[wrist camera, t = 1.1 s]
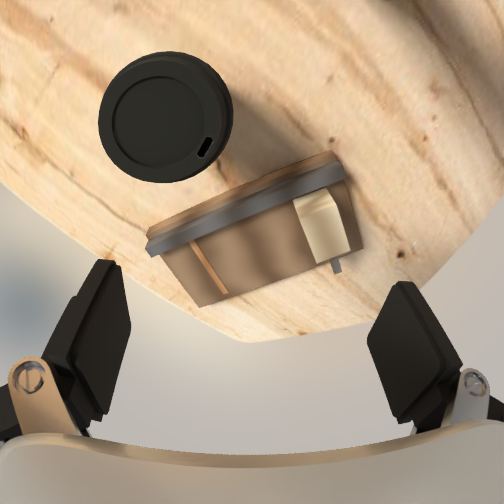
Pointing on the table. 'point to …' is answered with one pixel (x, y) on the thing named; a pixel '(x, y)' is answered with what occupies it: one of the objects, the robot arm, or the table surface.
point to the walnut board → (250, 232)
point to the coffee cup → (165, 117)
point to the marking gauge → (322, 226)
